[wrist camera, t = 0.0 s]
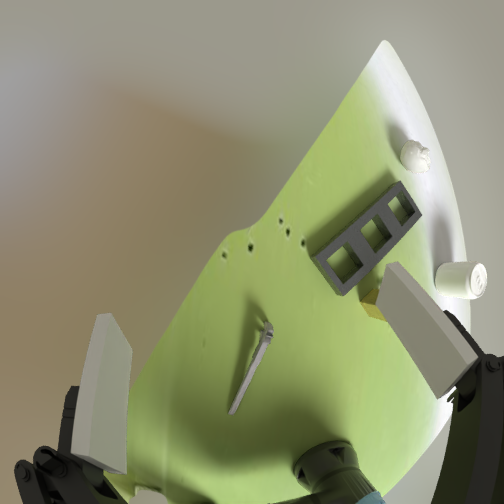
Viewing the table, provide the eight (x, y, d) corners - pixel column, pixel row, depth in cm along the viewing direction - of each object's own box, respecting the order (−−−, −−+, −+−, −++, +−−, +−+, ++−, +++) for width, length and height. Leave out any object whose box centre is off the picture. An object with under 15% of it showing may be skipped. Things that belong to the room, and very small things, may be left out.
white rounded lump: (422, 171, 54) (442, 161, 47) (406, 183, 53) (427, 174, 46) (405, 143, 54) (423, 130, 47) (388, 153, 53) (407, 141, 46)
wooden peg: (382, 303, 51) (418, 310, 39) (369, 316, 50) (404, 326, 38) (373, 288, 51) (409, 292, 39) (359, 301, 50) (394, 309, 38)
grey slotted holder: (414, 217, 53) (422, 215, 50) (336, 294, 50) (343, 296, 47) (392, 184, 53) (400, 180, 50) (309, 257, 50) (315, 256, 47)
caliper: (263, 320, 48) (269, 327, 42) (269, 321, 48) (276, 329, 42) (227, 412, 46) (228, 429, 40) (233, 414, 46) (234, 430, 40)
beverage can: (446, 256, 54) (481, 253, 42) (456, 282, 54) (491, 283, 42) (429, 276, 53) (465, 276, 41) (440, 302, 53) (475, 307, 41)
